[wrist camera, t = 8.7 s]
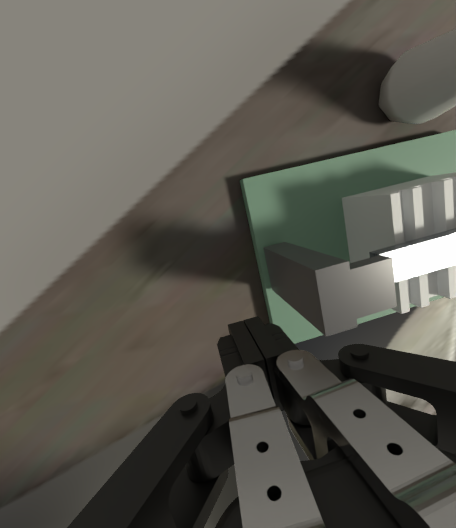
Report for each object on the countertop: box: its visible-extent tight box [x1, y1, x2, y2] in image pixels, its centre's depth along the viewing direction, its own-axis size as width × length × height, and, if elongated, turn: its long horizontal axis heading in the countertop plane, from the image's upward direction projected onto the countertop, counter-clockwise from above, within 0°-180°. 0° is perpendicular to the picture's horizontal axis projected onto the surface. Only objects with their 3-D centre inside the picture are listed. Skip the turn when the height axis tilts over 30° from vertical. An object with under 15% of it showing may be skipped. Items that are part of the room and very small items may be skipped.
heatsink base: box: [240, 130, 456, 344], centre depth 23 cm, size 16×21×10 cm
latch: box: [263, 242, 397, 337], centre depth 20 cm, size 4×5×10 cm
